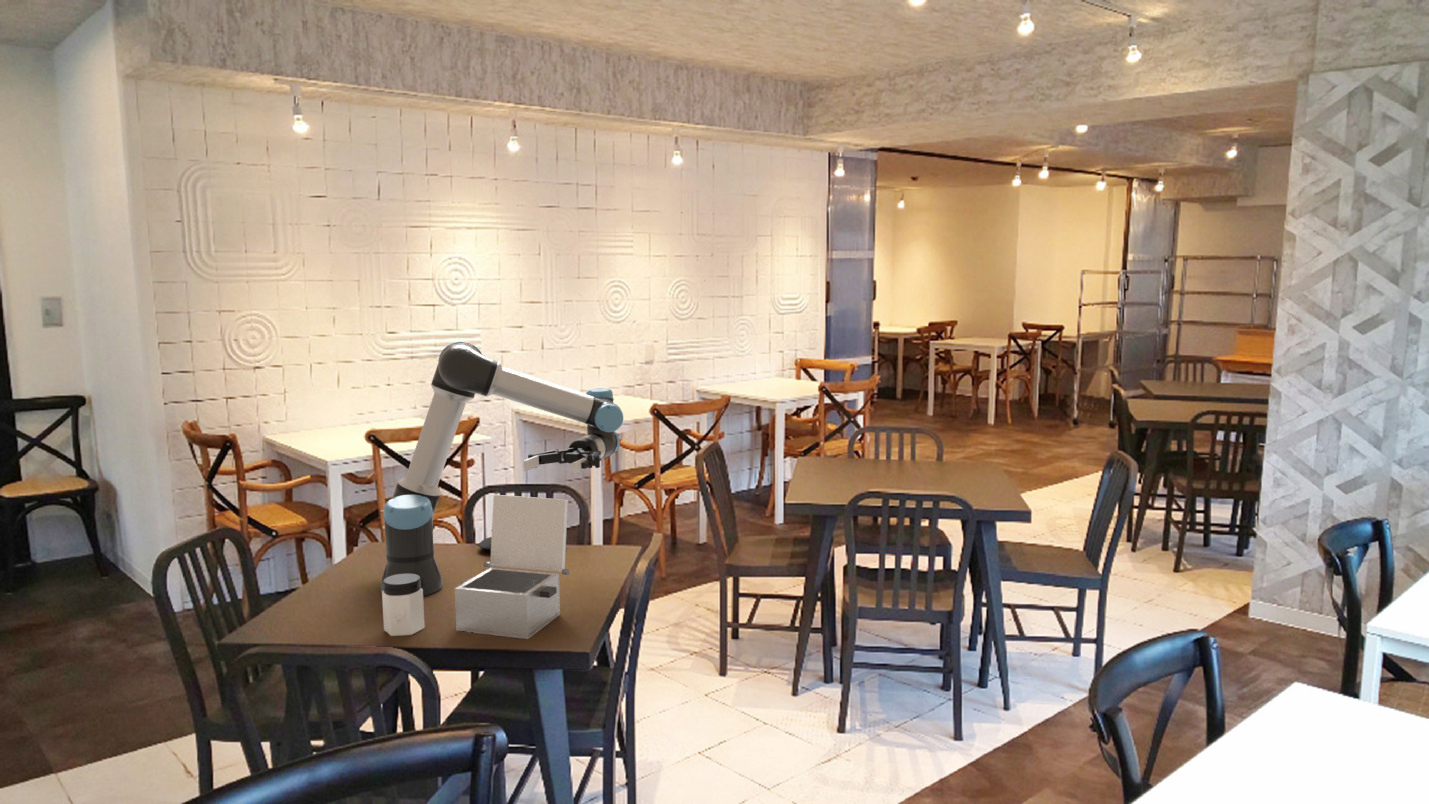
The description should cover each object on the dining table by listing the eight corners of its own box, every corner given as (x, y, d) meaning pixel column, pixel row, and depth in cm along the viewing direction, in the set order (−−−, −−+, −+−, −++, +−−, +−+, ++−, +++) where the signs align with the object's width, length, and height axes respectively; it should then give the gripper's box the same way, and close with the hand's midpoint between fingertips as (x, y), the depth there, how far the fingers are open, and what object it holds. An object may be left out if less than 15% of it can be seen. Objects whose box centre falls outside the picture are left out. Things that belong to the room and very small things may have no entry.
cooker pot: (487, 604, 236) (485, 560, 234) (572, 613, 229) (570, 568, 228) (447, 629, 219) (445, 583, 218) (537, 640, 212) (536, 592, 211)
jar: (380, 637, 215) (377, 585, 213) (387, 624, 223) (384, 574, 221) (421, 635, 216) (419, 583, 214) (427, 622, 224) (425, 572, 222)
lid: (490, 565, 233) (496, 563, 236) (561, 572, 227) (567, 570, 230) (493, 495, 233) (499, 494, 236) (565, 499, 228) (570, 499, 231)
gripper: (629, 466, 257) (595, 484, 237) (545, 462, 265) (505, 479, 245) (628, 439, 256) (594, 454, 236) (544, 435, 264) (504, 450, 244)
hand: (549, 467), depth 240 cm, fingers open, 13 cm apart
